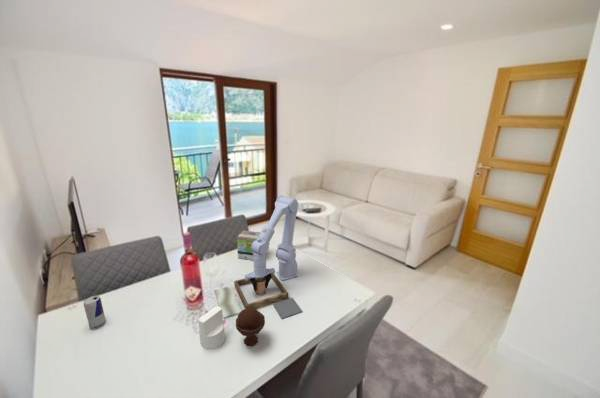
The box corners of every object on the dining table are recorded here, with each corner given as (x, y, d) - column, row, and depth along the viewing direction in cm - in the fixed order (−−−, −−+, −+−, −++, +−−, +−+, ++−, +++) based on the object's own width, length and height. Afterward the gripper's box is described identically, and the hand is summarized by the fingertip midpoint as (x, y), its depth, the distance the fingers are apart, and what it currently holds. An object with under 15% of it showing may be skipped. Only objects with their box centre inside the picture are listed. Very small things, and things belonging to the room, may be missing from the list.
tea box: (237, 259, 158) (236, 236, 153) (243, 251, 167) (242, 229, 163) (261, 261, 156) (261, 239, 151) (266, 253, 165) (266, 231, 161)
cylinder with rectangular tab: (211, 353, 95) (208, 326, 92) (195, 342, 100) (192, 316, 96) (229, 336, 103) (228, 311, 99) (214, 327, 107) (211, 302, 104)
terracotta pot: (263, 287, 132) (263, 275, 130) (267, 293, 128) (267, 281, 126) (253, 290, 130) (253, 278, 128) (257, 296, 125) (256, 284, 123)
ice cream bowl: (270, 335, 104) (270, 303, 99) (254, 357, 94) (253, 323, 90) (248, 326, 108) (247, 295, 104) (230, 346, 98) (228, 313, 94)
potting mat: (292, 298, 125) (292, 297, 125) (302, 312, 117) (302, 311, 116) (272, 304, 120) (272, 303, 120) (281, 319, 112) (281, 318, 112)
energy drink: (109, 321, 108) (103, 297, 105) (95, 331, 104) (89, 305, 100) (100, 318, 110) (93, 293, 106) (86, 327, 105) (79, 302, 102)
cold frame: (272, 276, 142) (272, 271, 141) (288, 298, 125) (288, 293, 124) (214, 291, 128) (214, 286, 128) (223, 319, 111) (223, 313, 110)
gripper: (271, 257, 131) (271, 280, 135) (242, 263, 124) (243, 288, 128) (276, 264, 125) (276, 288, 129) (246, 271, 118) (247, 296, 122)
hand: (260, 288), depth 128 cm, fingers closed on terracotta pot, 5 cm apart
